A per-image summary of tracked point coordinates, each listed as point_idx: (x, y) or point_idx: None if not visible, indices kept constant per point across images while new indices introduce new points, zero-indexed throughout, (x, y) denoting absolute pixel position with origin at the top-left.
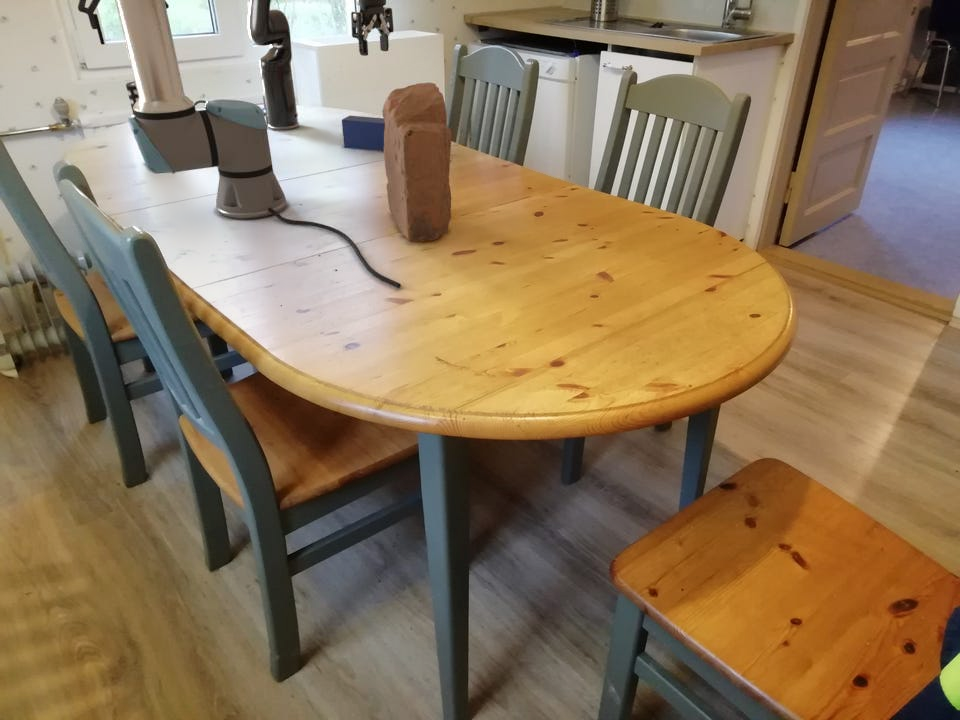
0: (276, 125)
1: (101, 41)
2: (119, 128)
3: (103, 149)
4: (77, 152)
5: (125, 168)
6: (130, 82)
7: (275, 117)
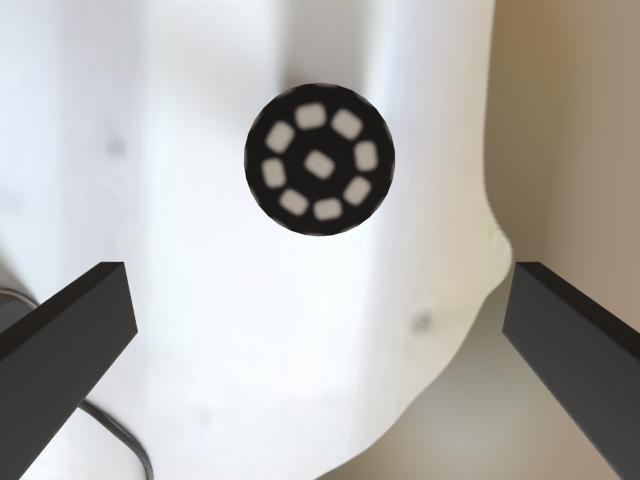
0: (19, 303)
1: (546, 269)
2: (366, 442)
3: (423, 305)
4: (475, 305)
5: (407, 125)
6: (368, 212)
7: (3, 313)
